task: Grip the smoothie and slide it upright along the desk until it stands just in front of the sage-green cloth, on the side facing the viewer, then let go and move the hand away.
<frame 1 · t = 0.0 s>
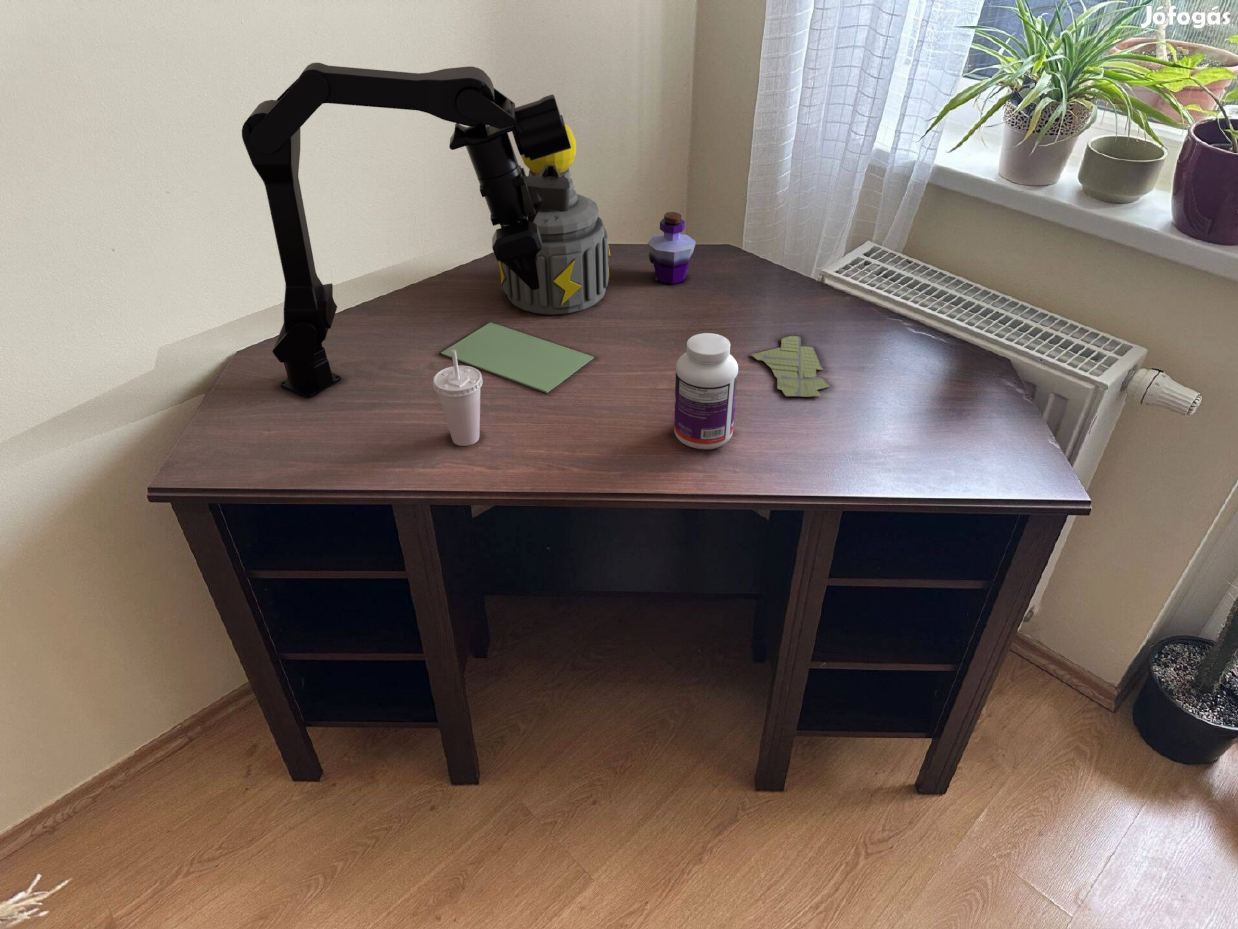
hand: (534, 274, 124), 15 cm above the table, tool pointing down, fingers open, 9 cm apart
decorative lamp: (556, 294, 154), on the table
pill bottle: (702, 436, 119), on the table
smoothie: (466, 439, 119), on the table
olive flat irregular sheet: (787, 366, 133), on the table
potion bottle: (670, 279, 158), on the table
green cloth: (516, 356, 136), on the table
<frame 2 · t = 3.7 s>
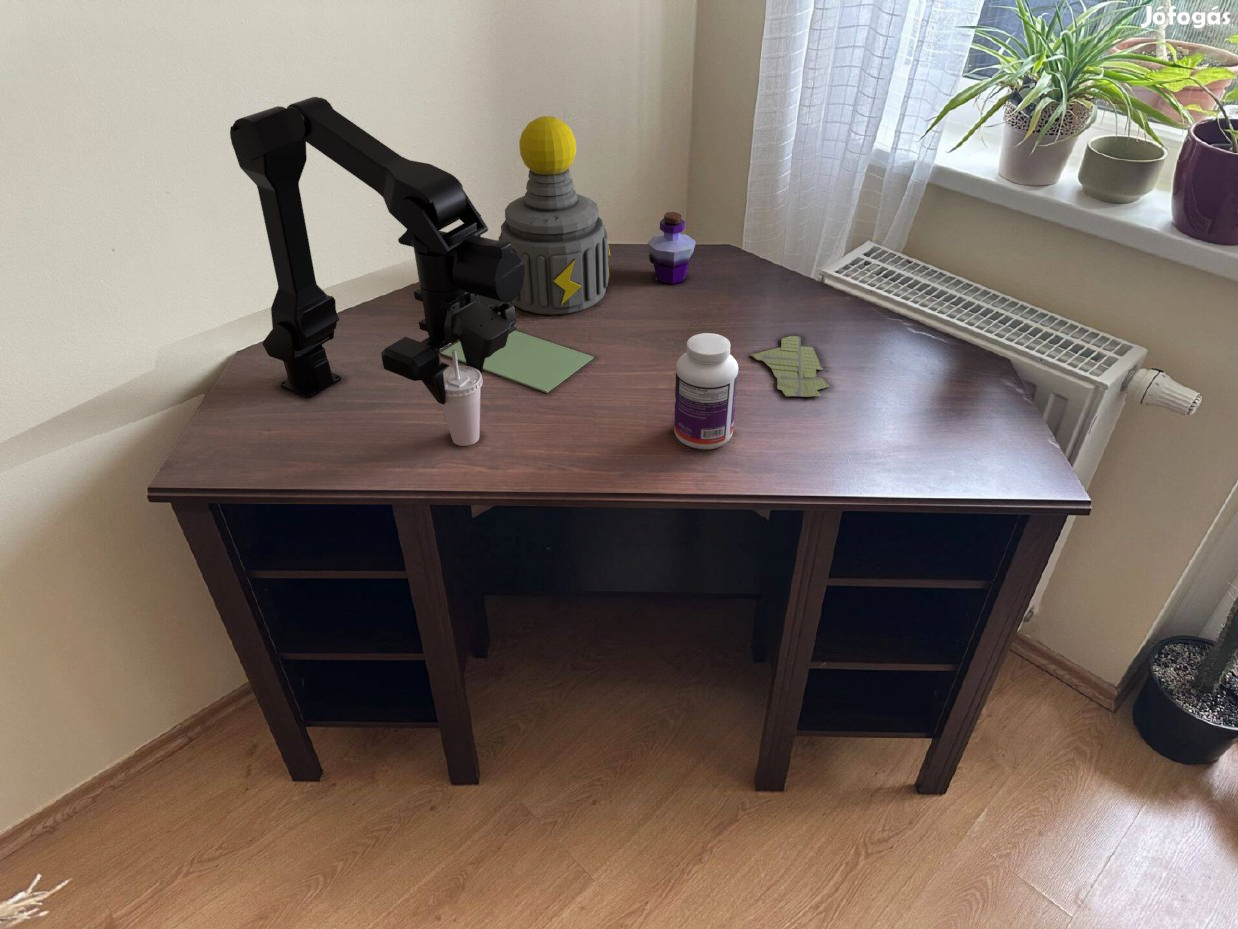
hand: (459, 391, 114), 8 cm above the table, tool pointing down, fingers closed on smoothie, 6 cm apart
smoothie: (466, 439, 119), on the table, touching gripper
everything else where it was.
when the fingers open (8 cm above the table, at t = 8.5 s): smoothie stays where it is, on the table.
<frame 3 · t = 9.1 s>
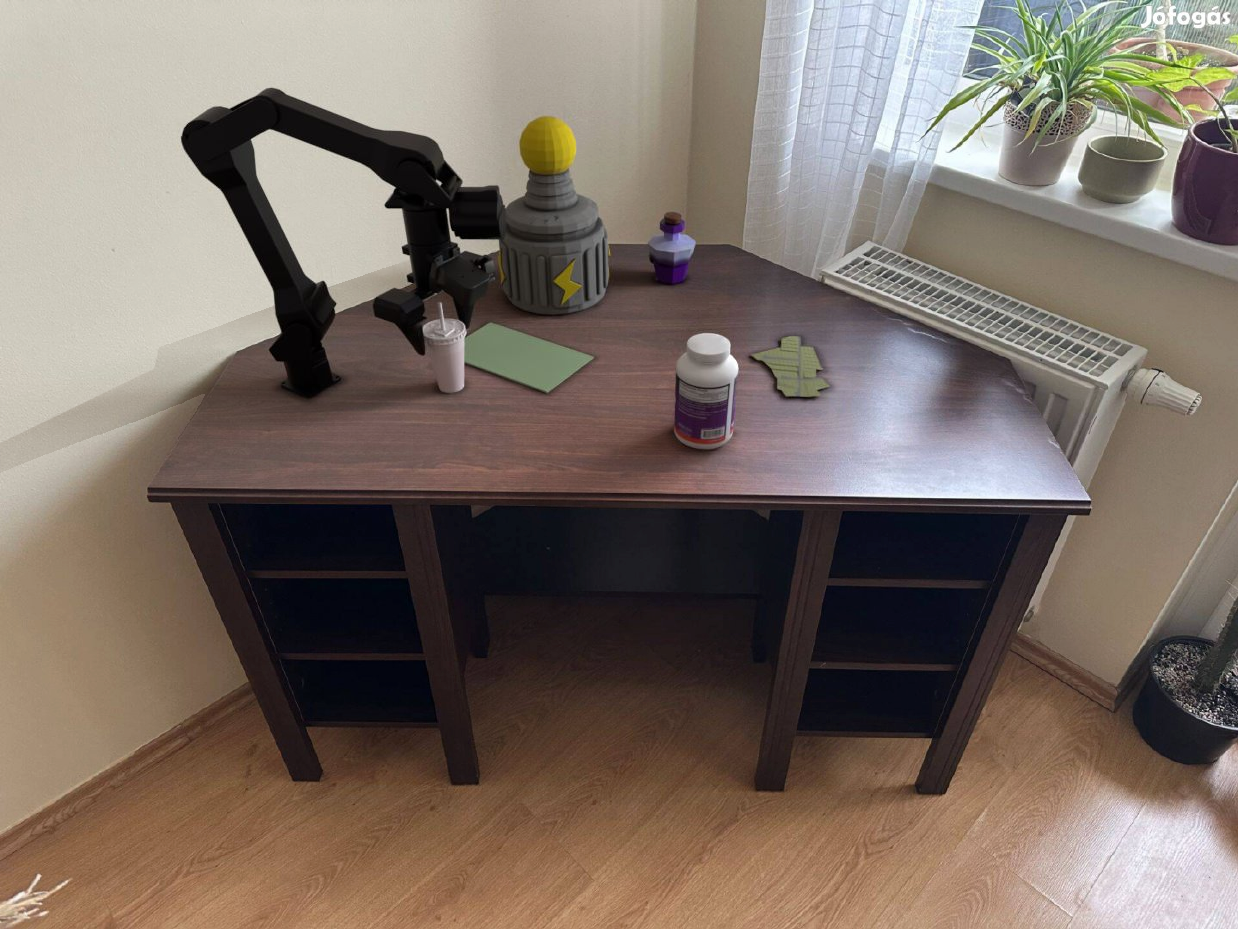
hand: (444, 341, 125), 8 cm above the table, tool pointing down, fingers open, 9 cm apart
smoothie: (451, 387, 130), on the table
everything else where it was.
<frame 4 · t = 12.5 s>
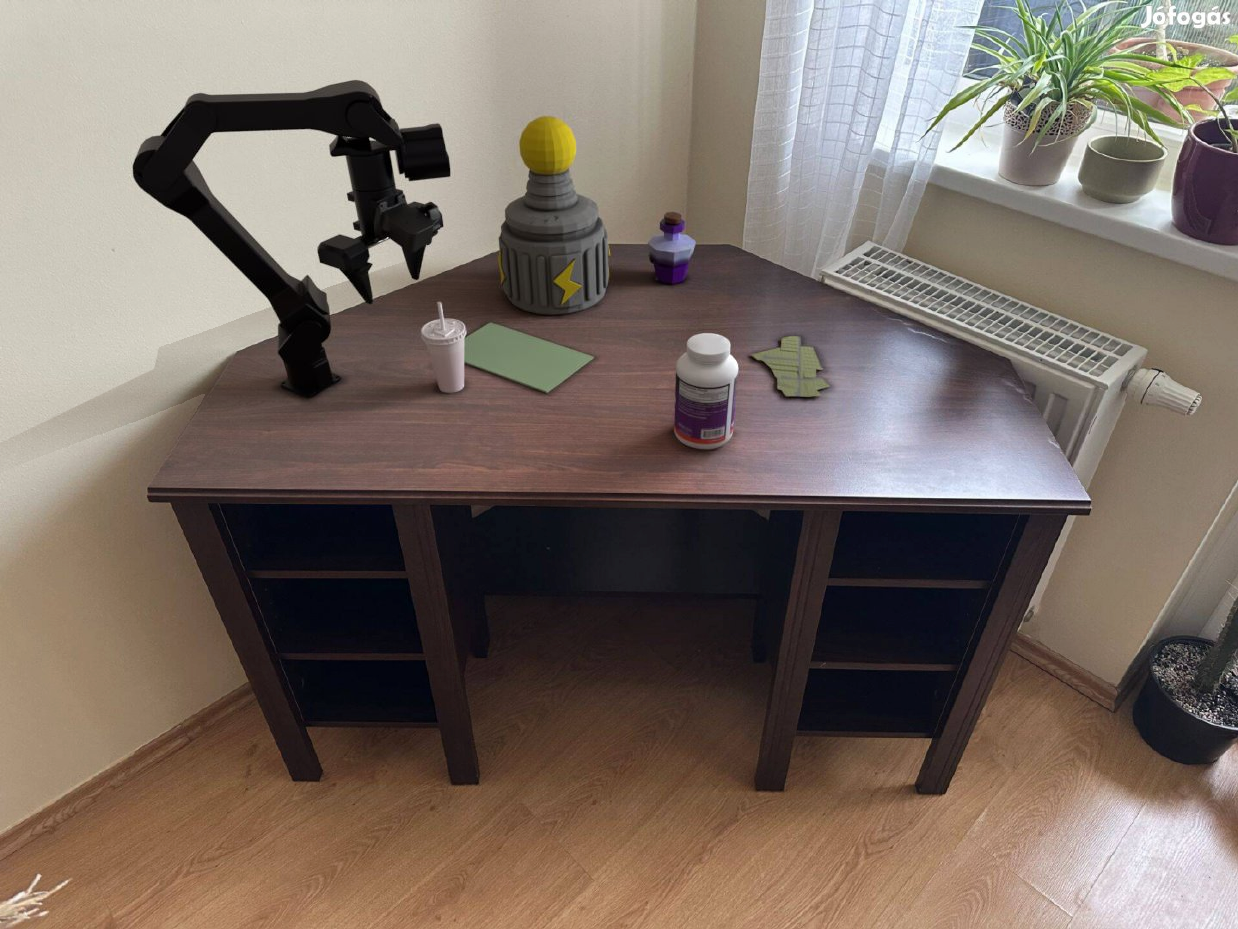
hand: (393, 291, 126), 13 cm above the table, tool pointing down, fingers open, 9 cm apart
nothing on the table moved.
at the end: smoothie inside the target area (2.1 cm from its centre), on the table; smoothie tilted 0°; the gripper is holding nothing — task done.
